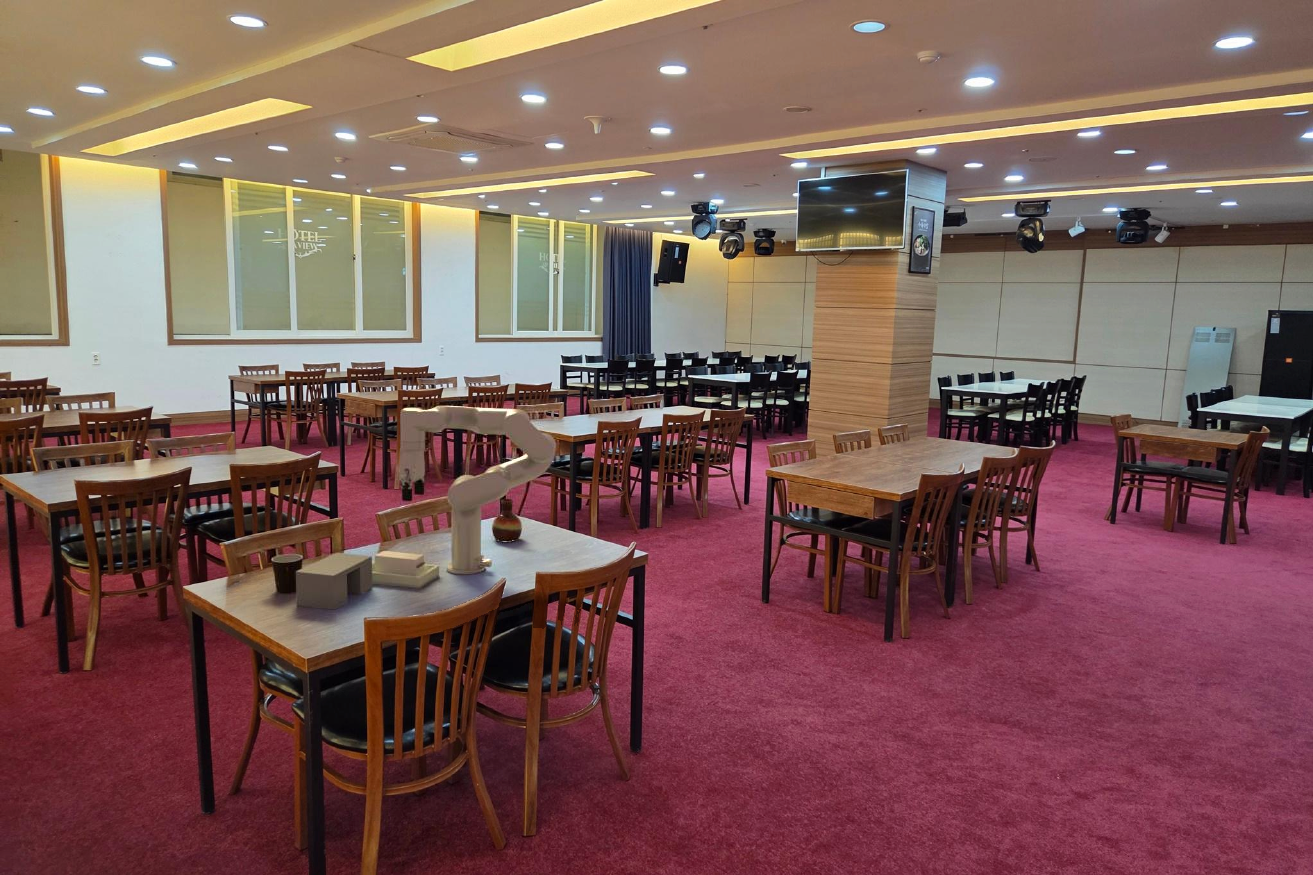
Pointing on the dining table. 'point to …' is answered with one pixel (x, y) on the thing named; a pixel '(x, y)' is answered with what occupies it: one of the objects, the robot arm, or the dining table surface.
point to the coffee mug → (286, 572)
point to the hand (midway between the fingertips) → (413, 497)
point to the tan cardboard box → (399, 563)
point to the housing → (333, 580)
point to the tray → (406, 577)
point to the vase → (507, 523)
